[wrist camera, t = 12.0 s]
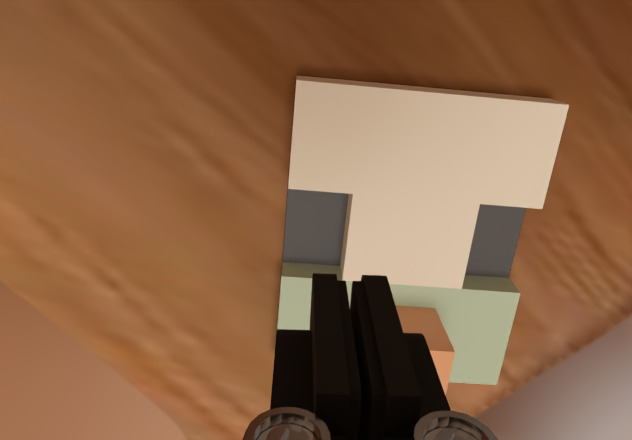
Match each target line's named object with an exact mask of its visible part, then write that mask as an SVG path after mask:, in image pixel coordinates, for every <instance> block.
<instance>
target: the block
mask: <svg viewBox="0 0 632 440" xmlns="http://www.w3.org/2000/svg"><path fill="white" fill-rule="evenodd" d="M396 309H397V312H398V316H399V319H400V323H401V326H402V330H403V333H422V334H423V335H424V337H425V339H426V342H427V345H428V347H429V350H430V353H431V356H432V359H433V362H434V364H435V367H436V370H437V373H438V376H439V379H440V382H441V384H442V387H443V390H444V393H445V396H446V392H447V387H448V383H449V378H450V373H451V369H452V364H453V360H454V355H455V351H454V348H453V346H452V344H451V342H450V340H449V337H448V335H447V333H446V331H445V329H444V326H443V324H442V322H441V320H440V318H439V315H438V313H437V311H436V309H435V308H425V307H410V306H396Z"/></svg>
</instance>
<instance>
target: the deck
mask: <svg viewBox="0 0 632 440" xmlns="http://www.w3.org/2000/svg"><path fill="white" fill-rule="evenodd" d="M568 108H569V105H568V104H565V103H562V102H559V101H556V100H553V99H550V98H539V97H528V96H517V95H506V94H495V93H484V92H473V91H462V90H451V89H440V88H430V87H419V86H408V85H397V84H386V83H375V82H364V81H353V80H342V79H331V78H320V77H309V76H298V75H297V79H296V92H295V105H294V118H293V131H292V144H291V157H290V170H289V183H288V196H287V210H286V223H285V236H284V249H283V262H282V275H281V288H280V301H279V314H278V327H277V329H289V330H310V311H311V291H312V275H313V273H320V274H337V280H342V281H346V285H347V292H348V299H349V306H350V302H351V290H352V282H353V281H361V277H362V275H382V276H387V278H388V282H389V285H390V289H391V292H392V295H393V299H394V302H395V306H410V307H425V308H435V309H436V311H437V313H438V315H439V318H440V320H441V322H442V324H443V326H444V329H445V331H446V333H447V335H448V337H449V340H450V342H451V344H452V346H453V348H454V351H455V355H454V360H453V364H452V369H451V373H450V378H449V382H455V383H472V384H489V385H497V382H498V378H499V374H500V370H501V366H502V363H503V359H504V355H505V351H506V347H507V343H508V339H509V336H510V332H511V328H512V324H513V320H514V316H515V312H516V308H517V305H518V301H519V297H520V292H519V291H518V289H517V288H516V287H515V285H514V284H513V283H512V282H511V280H510V279H509V274H510V270H511V266H512V262H513V258H514V254H515V250H516V246H517V242H518V238H519V234H520V230H521V226H522V222H523V217H524V213H525V209H526V208H536V209H542V208H543V204H544V200H545V196H546V193H547V189H548V185H549V181H550V177H551V173H552V169H553V166H554V162H555V158H556V154H557V150H558V146H559V142H560V139H561V135H562V131H563V127H564V123H565V119H566V115H567V112H568Z"/></svg>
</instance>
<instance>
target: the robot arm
mask: <svg viewBox="0 0 632 440" xmlns="http://www.w3.org/2000/svg"><path fill="white" fill-rule="evenodd" d="M243 440H498V439H497V437H496V436H495V435H494V433H493V432H492V431H491V430H490V429H489V428H488V427H487V426H486V425H484V424H483V423H482V422H480V421H479V420H478V419H476V418H473V417H471V416H469V415H467V414H464V413H460V412H456V411H451V410H450V407H449V404H448V401H447V399H446V396H445V393H444V390H443V387H442V384H441V382H440V379H439V376H438V373H437V370H436V367H435V364H434V362H433V359H432V356H431V353H430V350H429V347H428V345H427V342H426V339H425V337H424V335H423V334H422V333H403V330H402V326H401V323H400V319H399V316H398V312H397V309H396V306H395V302H394V299H393V295H392V292H391V289H390V285H389V282H388V278H387V276H382V275H362V277H361V281H353V282H352V290H351V302H350V306H349V299H348V292H347V285H346V281H342V280H337V274H320V273H313V275H312V291H311V311H310V330H289V329H277V334H276V346H275V359H274V371H273V383H272V395H271V407H270V410H268V411H266V412H264V413H262V414H260V415H258V416H257V417H256V418H255V419H254V420H253V421H252V422H251V423H250V424H249V426H248V428H247V430H246V431H245V434H244V437H243Z"/></svg>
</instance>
